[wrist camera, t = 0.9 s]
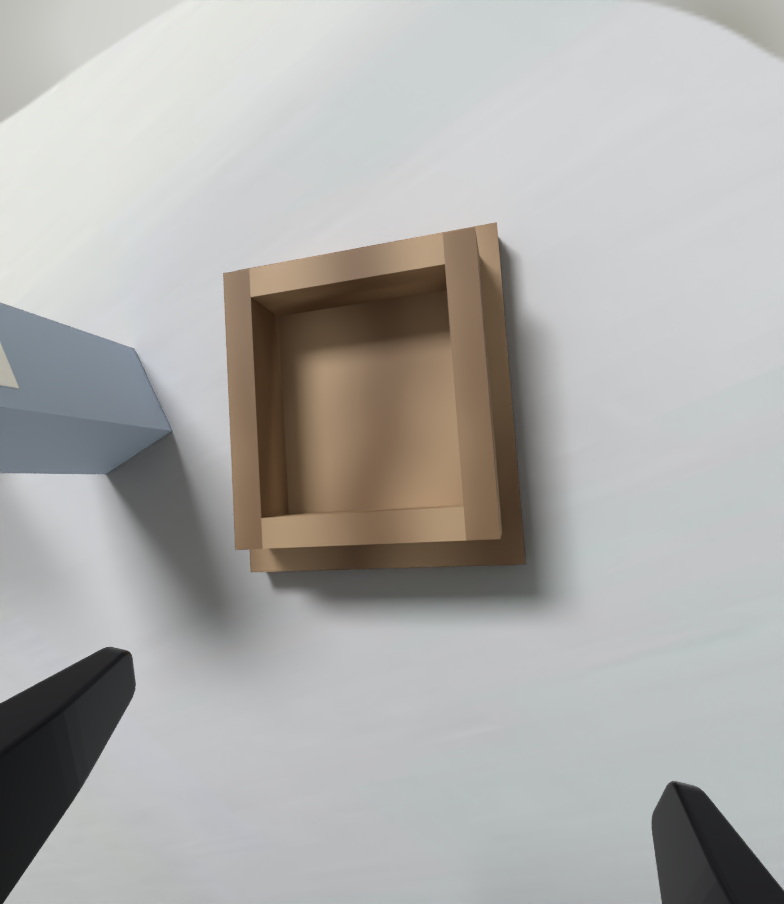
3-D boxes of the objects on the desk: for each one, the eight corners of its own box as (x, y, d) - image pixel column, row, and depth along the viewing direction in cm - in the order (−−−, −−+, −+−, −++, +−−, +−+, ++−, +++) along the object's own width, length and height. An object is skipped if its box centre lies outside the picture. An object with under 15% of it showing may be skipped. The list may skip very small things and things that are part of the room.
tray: (263, 567, 24) (219, 583, 20) (249, 280, 25) (205, 246, 21) (525, 559, 21) (526, 575, 17) (497, 236, 22) (494, 188, 18)
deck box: (105, 474, 26) (-176, 471, 16) (69, 393, 27) (-219, 337, 16) (172, 430, 26) (-74, 395, 15) (134, 348, 26) (-126, 258, 16)
